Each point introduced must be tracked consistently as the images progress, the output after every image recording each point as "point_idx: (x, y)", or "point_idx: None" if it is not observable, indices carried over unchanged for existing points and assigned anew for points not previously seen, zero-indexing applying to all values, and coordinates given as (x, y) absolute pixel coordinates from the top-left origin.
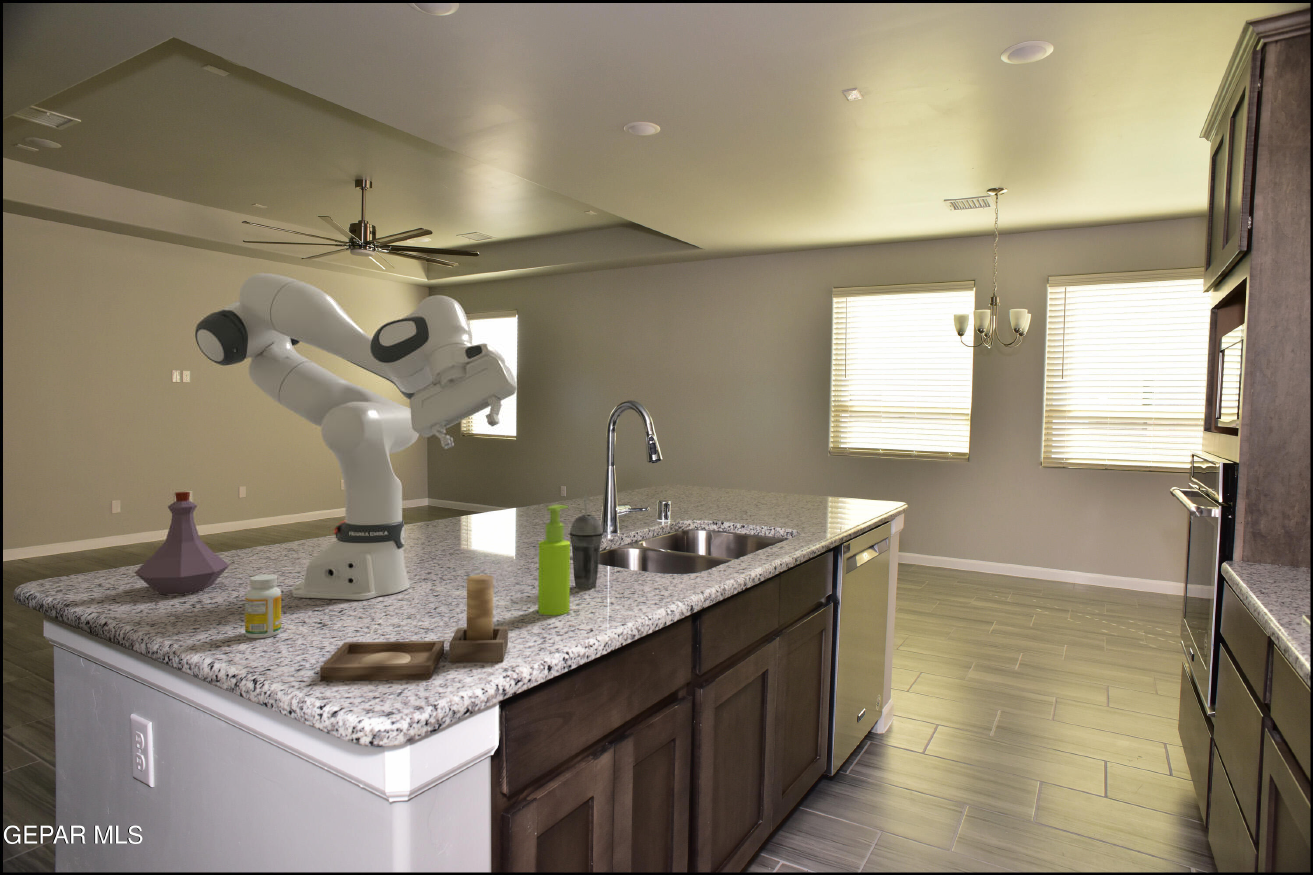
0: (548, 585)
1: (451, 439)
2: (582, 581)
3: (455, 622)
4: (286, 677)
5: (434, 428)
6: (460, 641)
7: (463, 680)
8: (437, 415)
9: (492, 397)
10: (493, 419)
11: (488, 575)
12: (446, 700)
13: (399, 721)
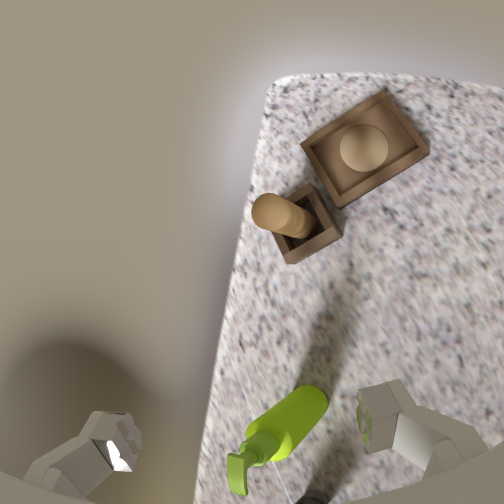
0: (292, 397)
1: (364, 432)
2: (311, 495)
3: (401, 315)
4: (419, 90)
5: (466, 446)
6: (302, 193)
7: (277, 161)
8: (445, 501)
9: (30, 482)
10: (96, 411)
11: (265, 227)
12: (265, 126)
13: (271, 87)
